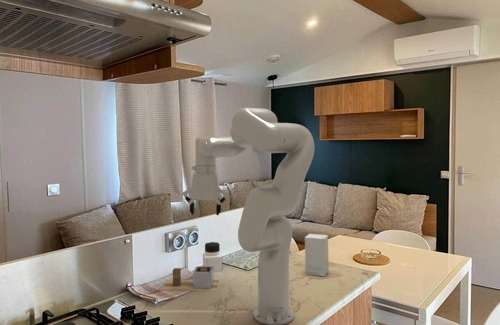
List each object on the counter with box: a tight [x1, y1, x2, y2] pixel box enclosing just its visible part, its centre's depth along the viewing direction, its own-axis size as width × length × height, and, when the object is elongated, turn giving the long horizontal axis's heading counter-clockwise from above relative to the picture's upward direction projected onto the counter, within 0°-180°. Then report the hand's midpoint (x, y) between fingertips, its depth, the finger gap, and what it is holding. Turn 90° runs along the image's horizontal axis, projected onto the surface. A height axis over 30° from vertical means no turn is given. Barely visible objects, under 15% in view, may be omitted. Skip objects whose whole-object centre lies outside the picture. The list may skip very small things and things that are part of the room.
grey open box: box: [192, 265, 215, 289], centre depth 141 cm, size 7×7×6 cm
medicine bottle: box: [202, 241, 223, 273], centre depth 159 cm, size 7×7×12 cm
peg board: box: [159, 267, 220, 292], centre depth 141 cm, size 10×20×7 cm, turn 88°
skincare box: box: [304, 233, 330, 277], centre depth 155 cm, size 8×7×16 cm
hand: (205, 214), depth 145 cm, fingers open, 9 cm apart
